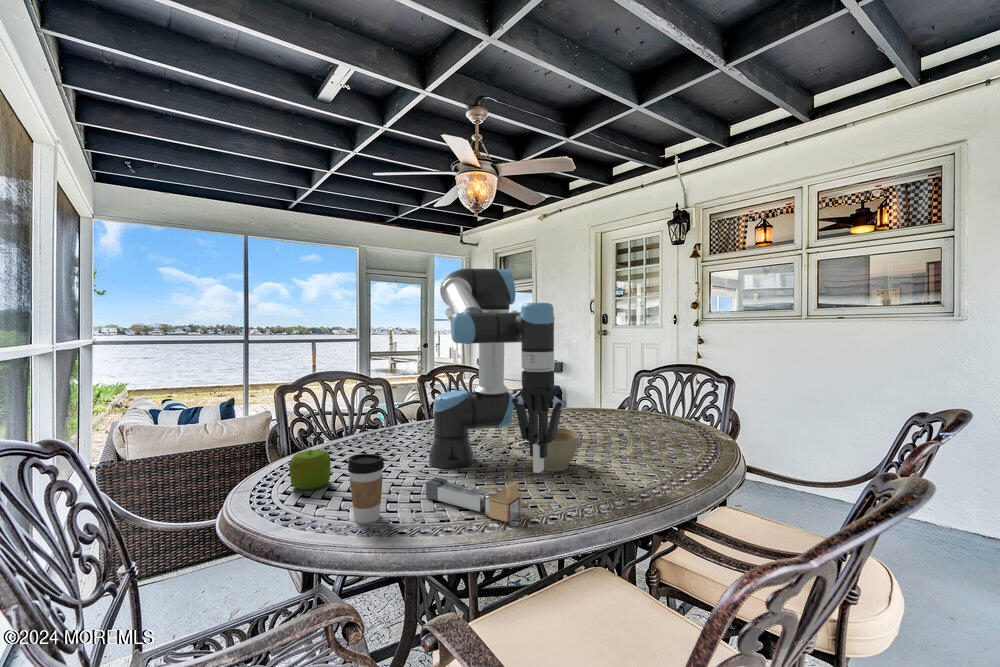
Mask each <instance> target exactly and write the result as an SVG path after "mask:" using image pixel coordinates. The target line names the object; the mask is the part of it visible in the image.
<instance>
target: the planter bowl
mask: <svg viewBox="0 0 1000 667" xmlns="http://www.w3.org/2000/svg"><path fill="white" fill-rule="evenodd" d="M538 438H539V428H538ZM578 440H579V434H578V432H576V431H575V430H571V429H568V428H562V427H558V428H557V433H556V437H555V440H554V441H552V442H550V443H547V457H545V458H544V470H543V471H547V472H562V471H565V470H567V469H568V468H569V464H570V463H571V461H572V460H573V458H574V457H575V455H576V452H577V449H578V443H579V442H578ZM538 441H539V440H537V442H538ZM528 444H529V446H530V443H528Z"/></svg>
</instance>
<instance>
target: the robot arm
mask: <svg viewBox="0 0 1000 667" xmlns="http://www.w3.org/2000/svg"><path fill="white" fill-rule="evenodd" d="M439 290H440V291H439V293H440V297H441V300H442V301H443V302H444V303H445V304H446V305H447V306H448V307H449V309H450V311H451V313H452V315H451V319H450V334H451V339H452V342H454V343H455V344H464V345H470V344H478V383H477V386H475V387H474V389H473V391H474V392H473V394H469V392H468V390H462V389H461V390H451V391H446V392H442V393H440V394H438V395H436V396H435V398H434V399H433V409H432V410H433V411H432V413H433V441H432V445H431V449H430V452H429V454H428V455H429V456H428V464H430V466H432V467H435V468H439V469H458V468H465V467H467V466H470V465H471V464H473V463H475V462H474V461H475V453H474V451H473V448H472V445H471V441H470V438H469V436H470V435H469V433H470V432H469V431H470V430H481V429H483V430H484V429H498V428H504V427H507V426H508V425H509V424H510V423H511V422H512V419H513V414H514V408H515V411H516V415H517V421H518V424H519V430H520V434H521V438H522V439H523V440H526V441H528V442H529V443H530V445H529V456H530V457H532V472H533V473H534V474H535V473H536V474H540V473H541V472H543V471H545V470H544V458H545V457H547V443H550V442H552V441H554V440H555V437H556V433H557V428H559V423H560V419H561V414H562V411H563V410H564V407H565V406H566V402H565V401H564V400H561V399H559V398H558V397H557V393H556V392H555V372H554V370H553V369H555V316H554V315H555V314H554V313H555V312H554V305H553V304H551V303H550V302H528V303H527V302H526V303H523V304H521V308H520V312H509V311H510V306H511V305H513V304H514V303H515V301H516V285H515V280H514V278H513V274H512V273H511V272H510V271H509V270H507V269H502V268H471V267H470V268H459V269H457V270H455V271H453V272H451V273H449V274H448V275H446V277H445V278H444V279H443V280H442V282H441V284H440V289H439ZM505 343H506V344H507V343H510V344H511V343H512V344H513V343H520V344H521V368H522V369H523V370H522V371H521V386H522V388H521V390H520V394H519V395H518V396H516V397H514V396H513V394H512V393H510V392H509V388H508V387H507V386H506V385H505ZM525 405H526V406H527V409H526V406H525ZM550 406H552V408H553V409H552V412H551V414H550V419H549V410H550V409H549V408H550ZM549 420H550V421H549ZM538 429H539V438H538ZM537 440H539V441H538V442H537ZM529 443H528V444H529Z"/></svg>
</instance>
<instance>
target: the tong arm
mask: <svg viewBox="0 0 1000 667" xmlns="http://www.w3.org/2000/svg"><path fill="white" fill-rule="evenodd" d="M431 480H433V481H437V482H441V483H442V485H444V486H449V487H453V488H457V489H461V490H465V491H469V492H473V493H477V494H481V495H484V509H485V495H487V494H490V491H488V490H487V491H486V490H483V489H479V488H473V487H472V486H466V485H461V484H457V483H453V482H449V481H448V479H445V478H440V477H437V476H436V477H434V478H431Z"/></svg>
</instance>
